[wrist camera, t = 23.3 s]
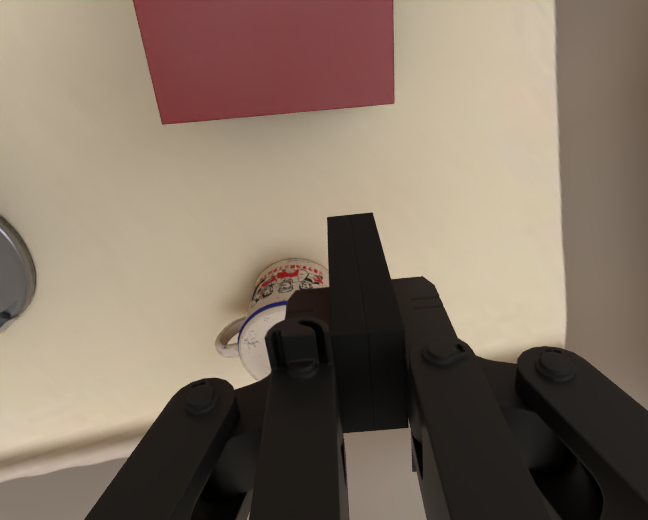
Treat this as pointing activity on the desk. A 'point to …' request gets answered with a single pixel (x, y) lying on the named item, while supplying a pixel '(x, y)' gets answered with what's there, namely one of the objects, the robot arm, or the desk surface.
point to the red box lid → (266, 56)
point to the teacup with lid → (268, 311)
